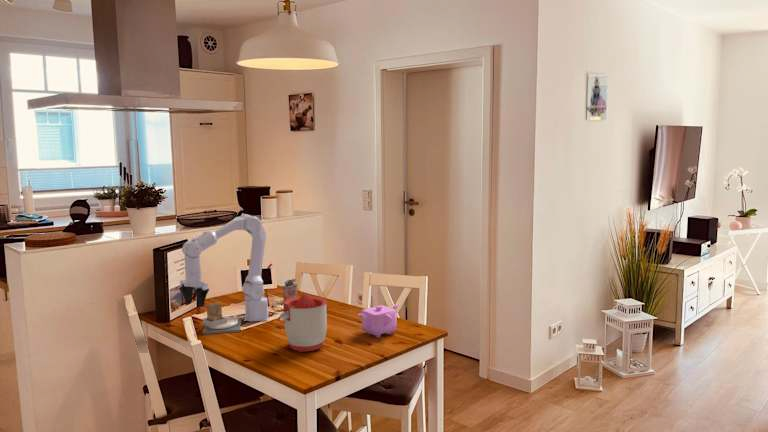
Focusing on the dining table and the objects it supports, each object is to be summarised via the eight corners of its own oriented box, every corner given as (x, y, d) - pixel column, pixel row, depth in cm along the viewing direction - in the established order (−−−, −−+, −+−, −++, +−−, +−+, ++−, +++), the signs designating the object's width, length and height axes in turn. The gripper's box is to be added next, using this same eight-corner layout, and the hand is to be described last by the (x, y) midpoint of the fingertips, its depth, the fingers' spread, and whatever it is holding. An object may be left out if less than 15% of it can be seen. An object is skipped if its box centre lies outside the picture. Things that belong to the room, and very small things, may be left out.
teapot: (366, 326, 241) (366, 299, 240) (399, 327, 239) (399, 301, 237) (357, 339, 227) (357, 311, 225) (392, 341, 224) (392, 312, 222)
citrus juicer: (274, 345, 221) (272, 292, 218) (318, 336, 229) (316, 285, 227) (289, 358, 208) (287, 302, 205) (335, 349, 216) (333, 295, 213)
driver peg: (215, 321, 242) (214, 302, 241) (222, 323, 240) (221, 303, 238) (207, 324, 238) (206, 304, 237) (214, 325, 236) (213, 306, 235)
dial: (227, 317, 250) (226, 310, 250) (243, 323, 242) (243, 315, 242) (199, 325, 241) (199, 317, 241) (215, 331, 233) (215, 323, 233)
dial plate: (241, 320, 250) (241, 318, 250) (239, 331, 236) (239, 329, 236) (207, 322, 248) (207, 320, 248) (202, 334, 234) (202, 331, 234)
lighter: (286, 303, 275) (286, 282, 274) (281, 302, 277) (280, 281, 276) (299, 299, 282) (298, 278, 280) (294, 298, 284) (293, 277, 282)
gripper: (172, 271, 237) (174, 304, 239) (196, 275, 229) (198, 310, 231) (187, 267, 243) (189, 300, 245) (211, 272, 235) (213, 305, 237)
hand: (194, 305), depth 238 cm, fingers open, 7 cm apart
